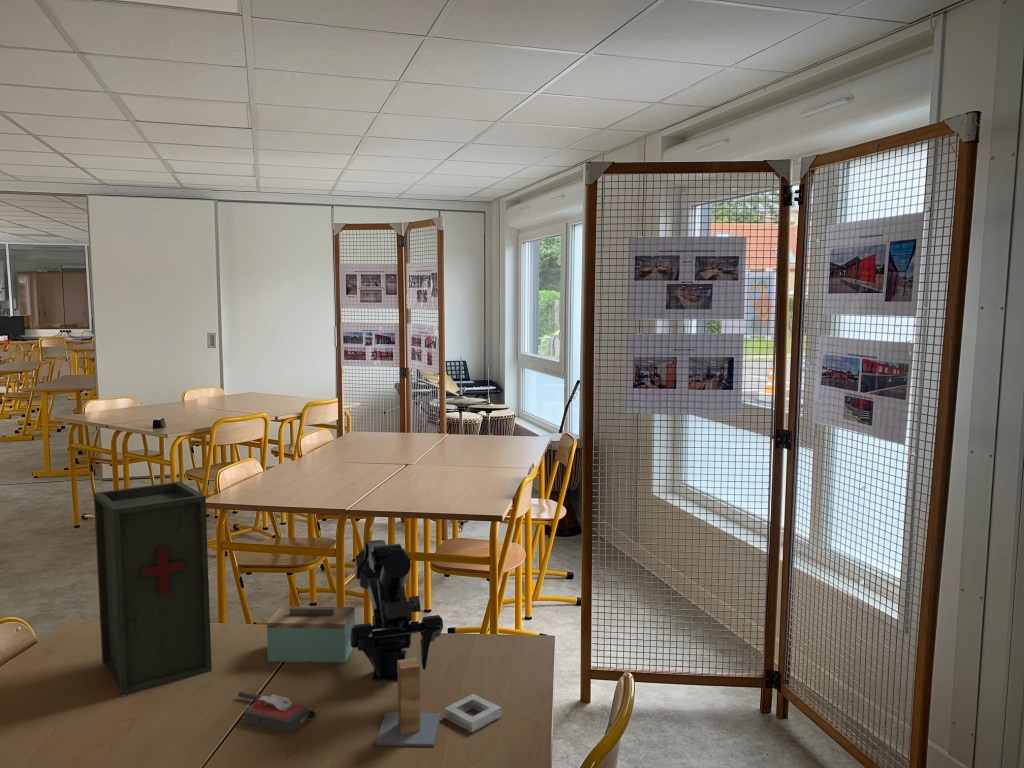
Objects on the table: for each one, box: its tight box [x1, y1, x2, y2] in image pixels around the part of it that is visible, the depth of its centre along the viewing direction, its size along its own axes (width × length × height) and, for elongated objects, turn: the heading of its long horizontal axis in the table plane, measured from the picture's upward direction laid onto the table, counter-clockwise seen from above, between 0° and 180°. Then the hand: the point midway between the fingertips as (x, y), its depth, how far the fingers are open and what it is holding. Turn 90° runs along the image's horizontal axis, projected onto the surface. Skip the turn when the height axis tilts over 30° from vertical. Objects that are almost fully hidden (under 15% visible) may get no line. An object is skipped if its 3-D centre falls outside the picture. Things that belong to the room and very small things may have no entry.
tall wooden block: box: [397, 657, 421, 734], centre depth 149 cm, size 4×4×13 cm
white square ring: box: [443, 693, 502, 734], centre depth 154 cm, size 8×8×2 cm
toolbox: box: [266, 605, 356, 663], centre depth 183 cm, size 18×10×11 cm, turn 89°
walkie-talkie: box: [237, 690, 317, 734], centre depth 155 cm, size 9×4×20 cm
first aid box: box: [93, 481, 213, 697], centre depth 173 cm, size 18×18×40 cm
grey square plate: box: [374, 711, 441, 747], centre depth 150 cm, size 11×11×1 cm
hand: (402, 672), depth 156 cm, fingers open, 9 cm apart
